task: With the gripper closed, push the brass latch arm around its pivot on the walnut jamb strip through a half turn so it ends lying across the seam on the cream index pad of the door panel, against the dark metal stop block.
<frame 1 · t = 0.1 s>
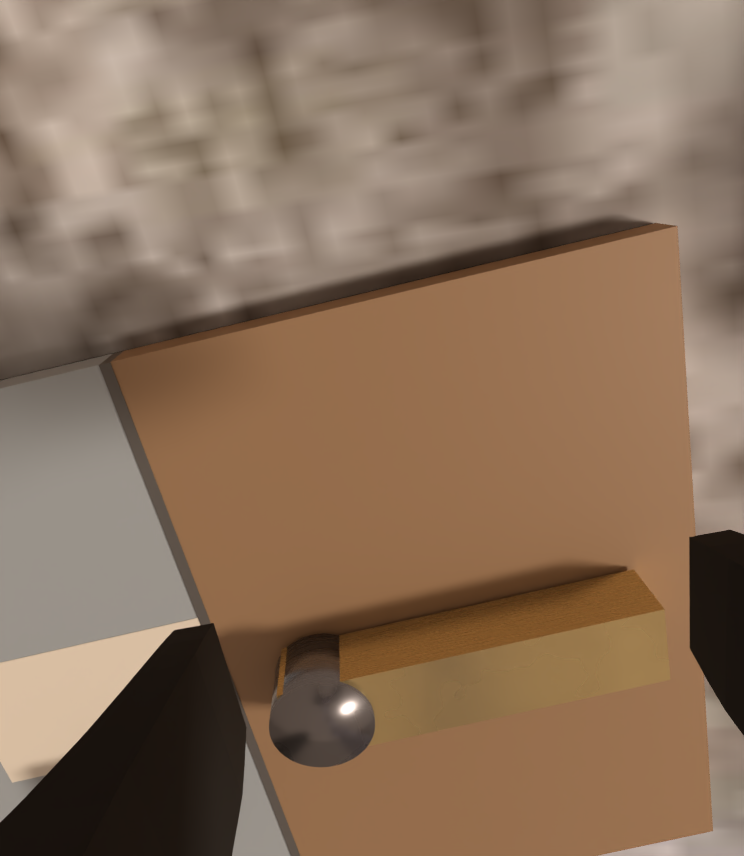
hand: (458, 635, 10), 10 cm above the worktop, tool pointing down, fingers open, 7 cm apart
latch arm: (462, 667, 20), point 2 cm above the worktop, hinge at 0.0°
door mockup: (265, 657, 22), on the worktop
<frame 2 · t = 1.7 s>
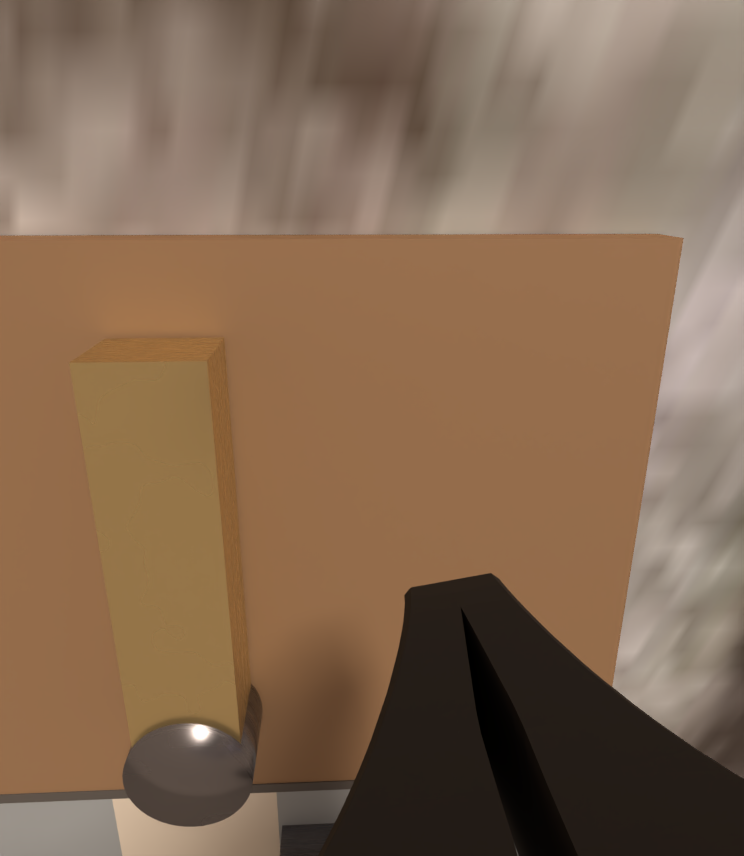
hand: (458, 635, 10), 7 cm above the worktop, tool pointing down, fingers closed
latch arm: (180, 598, 15), point 2 cm above the worktop, hinge at 0.0°
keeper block: (319, 835, 21), resting on door mockup
door mockup: (220, 729, 19), on the worktop
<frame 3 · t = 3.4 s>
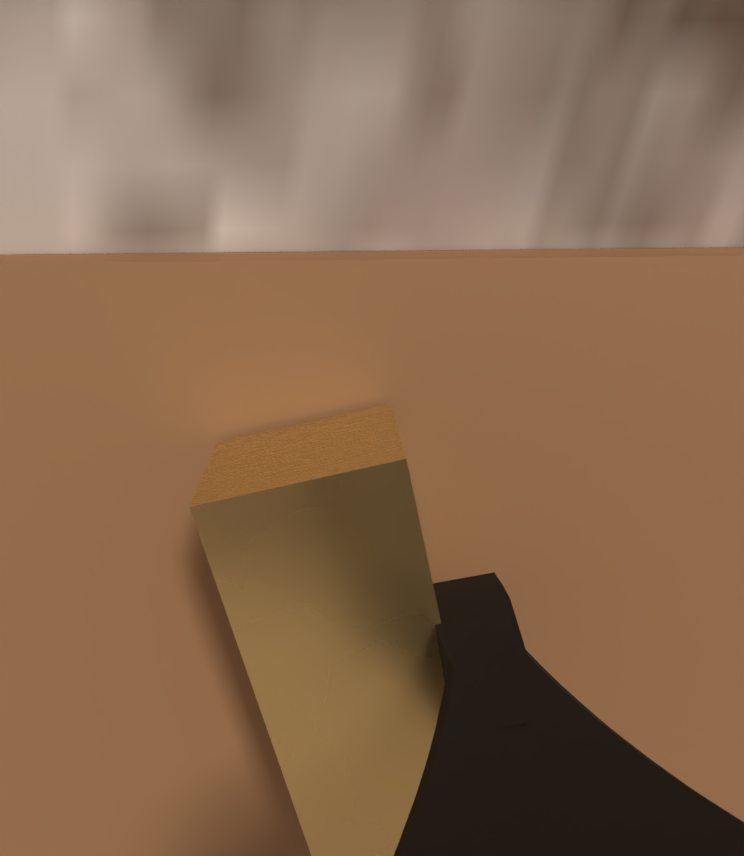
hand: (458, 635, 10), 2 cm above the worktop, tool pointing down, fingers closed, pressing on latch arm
latch arm: (391, 785, 10), point 2 cm above the worktop, hinge at 11.9°, touching gripper
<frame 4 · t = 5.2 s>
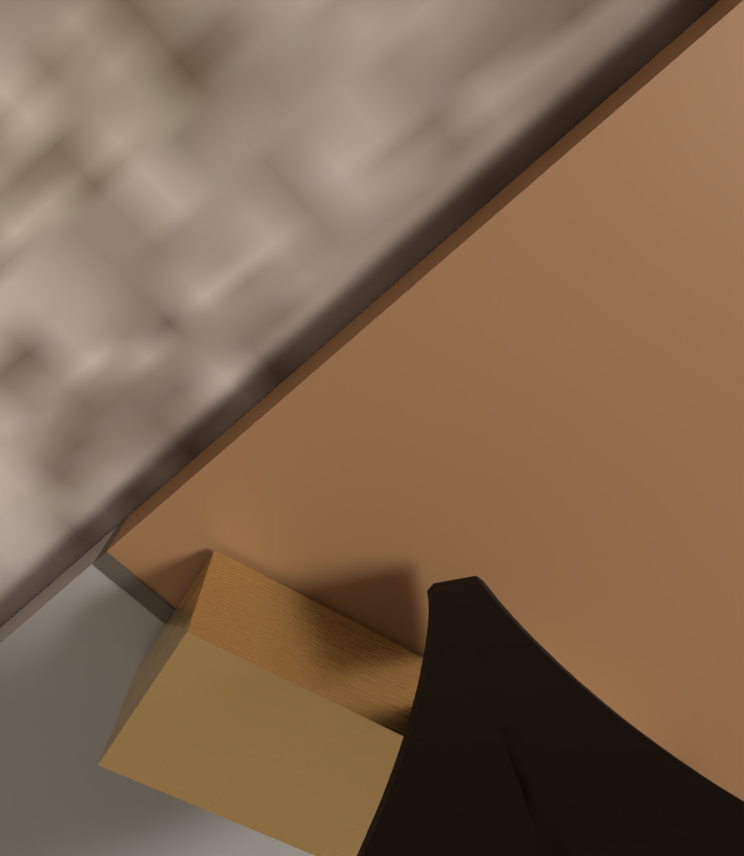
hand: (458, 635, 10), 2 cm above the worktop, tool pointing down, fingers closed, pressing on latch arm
latch arm: (480, 805, 11), point 2 cm above the worktop, hinge at 106.0°, touching gripper
door mockup: (540, 827, 14), on the worktop
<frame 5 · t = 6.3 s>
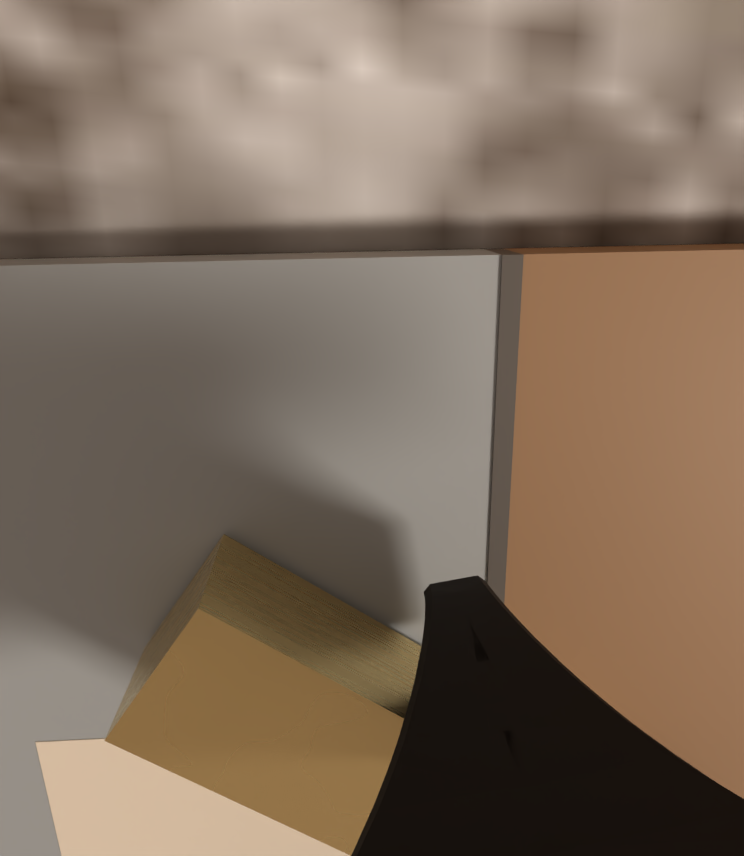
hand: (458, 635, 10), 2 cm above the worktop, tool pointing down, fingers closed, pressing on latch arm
latch arm: (478, 796, 11), point 2 cm above the worktop, hinge at 144.1°, touching gripper
door mockup: (518, 784, 14), on the worktop
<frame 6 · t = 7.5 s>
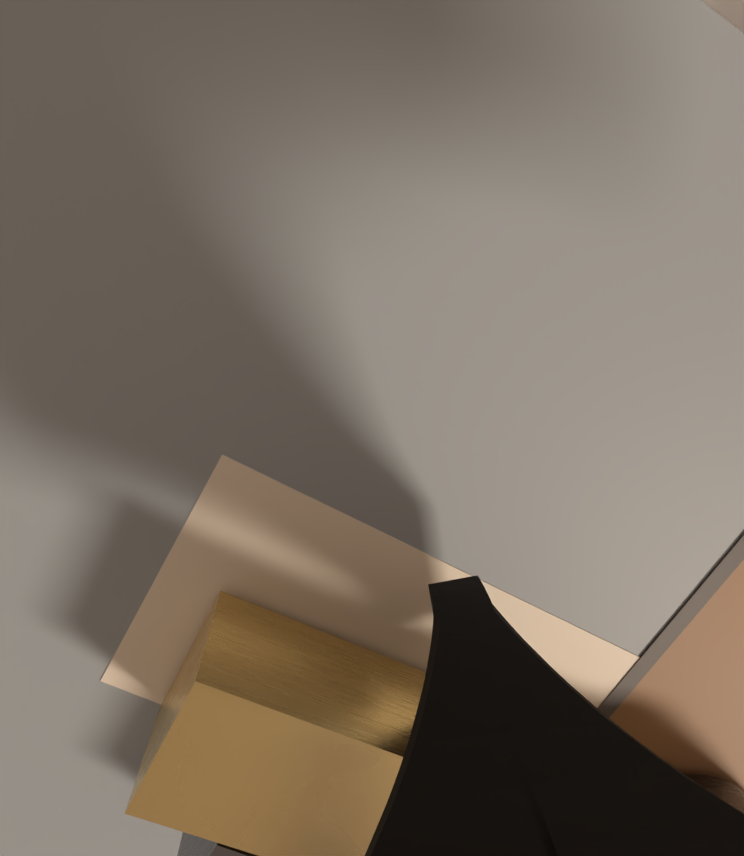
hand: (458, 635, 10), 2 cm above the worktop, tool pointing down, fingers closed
latch arm: (506, 818, 11), point 2 cm above the worktop, hinge at 182.1°, touching gripper
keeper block: (312, 760, 13), resting on door mockup
door mockup: (571, 741, 14), on the worktop
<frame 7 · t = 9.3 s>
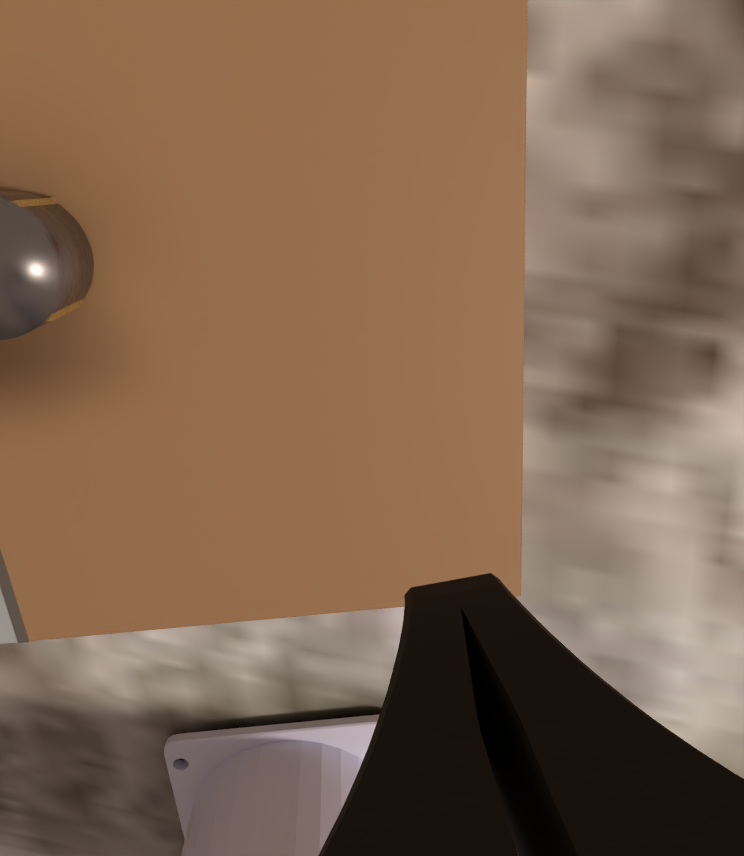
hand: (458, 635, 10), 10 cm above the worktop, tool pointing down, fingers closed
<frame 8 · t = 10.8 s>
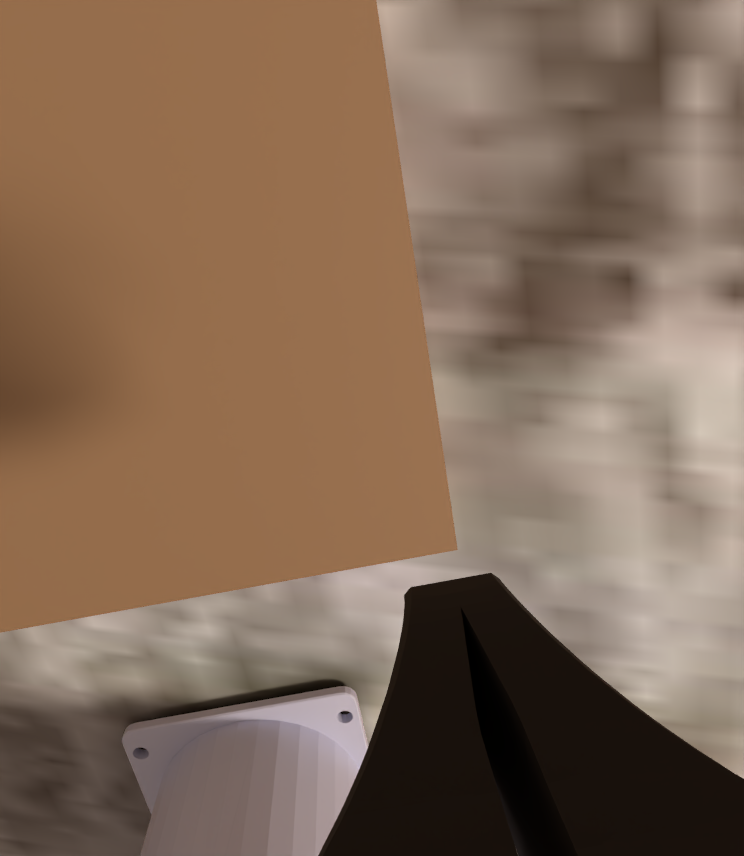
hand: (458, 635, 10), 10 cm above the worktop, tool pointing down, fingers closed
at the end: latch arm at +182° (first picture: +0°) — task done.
